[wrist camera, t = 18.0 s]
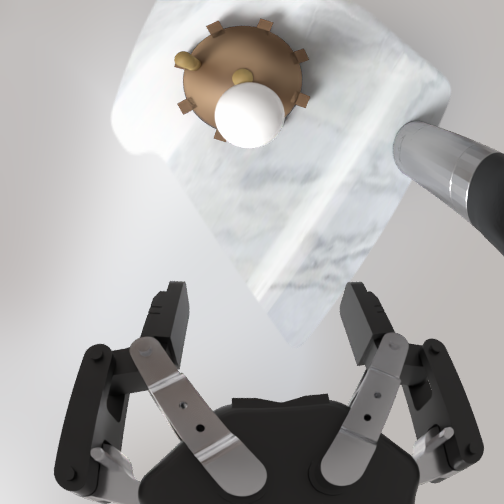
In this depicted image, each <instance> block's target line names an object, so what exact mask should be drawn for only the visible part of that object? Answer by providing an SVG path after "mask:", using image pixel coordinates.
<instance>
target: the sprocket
mask: <svg viewBox="0 0 504 504" xmlns="http://www.w3.org/2000/svg"><path fill="white" fill-rule="evenodd" d="M272 25H273V22H270V21H267V20H264V19H260V21H259V23H258V25H257V27H251V26H235V27H229V28H225V29H223V27H222V26H221V24H220V22H219V21H217V22H214V23H212V24H210V25H208V26H206V27H207V29H208V30H209V32H210V34H211V35H209V36H208V37H207V38H205V39H204V40H203V41H202V42H200V43H199V44H198V45H197V47H196V48H195V49H194V50H193V52H192V53H191V54H189V53H188V52H185V51H182V52H179V53H178V54H177V55H176V56H175V66H174V67H176V68H180V69H185V70H184V90H185V94H186V97H187V99H185V100H183V101H182V102H180V103H178V106H179V108H180V110H181V111H182V113H183V115H184V114H186V113H188V112H190V111H191V110H194V111H195V112H196V114H197V115H198V116H199V117H200V118H201V119H203V120H204V121H205V122H207V123H208V124H210V125H211V126H213V127H215V128H217V126H216V123H215V108H216V105H217V102H218V100H219V99H220V97H221V96H222V94H223V93H224V92H225V91H227V90H228V89H229V88H231V87H233V86H235V85H237V84H240V83H246V82H254V83H259V84H262V85H265V86H267V87H269V88H270V89H272V90H273V91H274V92H275V93H276V94H277V95H278V96H279V98H280V100H281V101H282V104H283V107H284V112H285V116H286V115H287V114H288V113H289V112H290V111H291V110H292V108H293V107H294V105H295V104H296V105H298V106H301V107H304V108H306V106H307V103H308V101H309V98H310V96H307V95H305V94H303V93H300V91H301V85H302V74H301V68H300V64H299V63H302V62H305V61H307V60H309V58H308V56H307V54H306V52H305V50H304V49H301V50H298V51H294V52H293V50H292V49H291V48H290V46H289V45H288V44H287V43H286V42H285V41H284V40H282V39H281V38H280V37H278V36H277V35H275V34H273V33H272V32H270V29H271V27H272ZM214 139H217V140H221V141H224V142H226V141H227V140H226V139H225V138H224V137H223V136H222V135H221V134H220V132H219V131H218V129H217V130H216V133H215V136H214Z"/></svg>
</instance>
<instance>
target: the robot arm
mask: <svg viewBox="0 0 504 504" xmlns="http://www.w3.org/2000/svg"><path fill="white" fill-rule="evenodd" d="M393 154H394V159H395V162H396V165H397V166H398V168H399V169H400V171H401V172H402V173H404V174H405V175H407V176H408V177H409V178H411V179H412V180H414V181H415V182H417V183H418V184H419V185H421V186H422V187H424V188H425V189H427V190H428V191H429V192H431V193H432V194H433V195H435V196H436V197H437V198H439V199H440V200H441V201H443V202H444V203H445V204H447V205H448V206H449V207H450V208H452V209H453V210H454V211H456V212H457V213H458V214H460V215H461V216H462V217H463V218H464V219H466V220H467V221H468V222H469V223H470V224H471V225H473V226H474V227H475V228H476V229H477V230H479V231H480V232H481V233H482V234H483V235H484V237H485V238H486V239H487V240H488V241H489V242H490V243H491V244H493V245H494V247H496V248H497V249H498V250H499V252H500V253H501V254H502V255H503V256H504V154H503V153H501V152H499V151H497V150H495V149H492V148H490V147H488V146H486V145H483V144H481V143H478V142H476V141H474V140H471V139H469V138H466V137H463V136H461V135H459V134H456V133H453V132H451V131H448V130H445V129H442V128H439V127H437V126H434V125H430V124H427V123H424V122H420V121H413V122H410V123H408V124H406V125H404V126H403V127H402V128H401V129H400V131H399V132H398V134H397V136H396V138H395V141H394V146H393ZM148 313H149V314H148V315H147V318H146V321H145V324H144V327H143V330H142V333H141V337H140V338H138V339H137V340H135V341H134V342H133V343H132V344H131V346H130V347H129V348H126V349H120V350H114V351H111V349H110V348H109V347H108V346H106V345H104V344H97V345H94V346H91V347H90V348H89V349H88V350H87V351H86V352H85V354H84V357H83V360H82V363H81V366H80V369H79V372H78V375H77V378H76V381H75V384H74V388H73V391H72V395H71V398H70V401H69V405H68V409H67V412H66V416H65V420H64V424H63V429H62V433H61V437H60V441H59V447H58V451H57V456H56V461H55V467H54V476H55V479H56V481H57V482H58V484H59V485H60V486H61V487H63V488H64V489H66V490H68V491H70V492H72V493H74V494H76V495H78V496H80V497H83V498H86V499H88V500H91V501H96V502H99V503H104V504H107V503H111V502H113V503H117V504H415V496H416V492H417V489H418V486H419V485H422V484H425V483H427V482H431V483H438V482H441V481H443V480H445V479H447V478H449V477H451V476H453V475H455V474H457V473H458V472H460V471H462V470H464V469H466V468H467V467H469V466H471V465H473V464H474V463H476V462H477V461H479V460H480V458H481V457H482V455H483V451H484V445H483V442H482V438H481V435H480V432H479V429H478V426H477V423H476V420H475V417H474V414H473V412H472V409H471V406H470V403H469V401H468V398H467V396H466V393H465V391H464V388H463V386H462V383H461V381H460V378H459V376H458V374H457V372H456V369H455V367H454V365H453V363H452V360H451V358H450V356H449V354H448V352H447V350H446V348H445V346H444V345H443V344H442V343H441V342H440V341H438V340H436V339H428V340H426V341H425V342H424V344H423V345H414V344H409V343H408V342H407V340H406V339H405V337H403V336H402V335H400V334H398V333H395V332H394V329H393V327H392V325H391V323H390V321H389V319H388V317H387V315H386V313H385V312H384V309H383V307H382V306H381V303H380V301H379V299H378V298H377V297H376V296H375V295H374V294H373V293H372V292H367V290H366V288H365V286H364V284H363V283H362V282H348V283H347V284H346V287H345V291H344V295H343V298H342V301H341V305H340V315H341V318H342V321H343V324H344V327H345V330H346V333H347V336H348V339H349V342H350V345H351V348H352V351H353V354H354V357H355V360H356V363H357V366H360V365H365V366H366V370H365V372H364V374H363V376H362V379H361V380H360V382H359V384H358V386H357V388H356V390H355V392H354V394H353V396H352V398H351V400H350V401H349V403H348V405H347V406H346V405H344V404H342V403H339V402H336V401H332V400H329V397H328V394H320V395H309V396H303V397H300V398H297V399H293V400H290V401H286V402H282V403H280V402H273V401H268V400H263V399H258V398H232V404H231V405H227V406H223V407H221V408H219V409H216V410H215V411H212V410H211V408H210V407H209V406H208V405H207V403H206V402H205V401H204V399H203V398H202V397H201V396H200V394H199V393H198V392H197V390H196V389H195V388H194V387H193V385H192V384H191V383H190V381H189V380H188V379H187V377H186V376H185V375H184V374H183V373H180V372H179V371H178V369H180V363H181V358H182V352H183V346H184V340H185V335H186V329H187V324H188V319H189V301H188V295H187V288H186V283H185V282H178V281H176V282H175V281H170V282H169V285H168V289H167V292H165V291H160V292H159V293H158V294H157V295H156V296H155V297H154V298H153V301H152V304H151V308H150V309H149V312H148ZM429 383H430V384H429ZM400 385H402V387H403V390H404V393H405V397H406V400H407V404H408V407H409V411H410V414H411V418H412V422H413V425H414V429H415V433H416V437H417V441H416V442H415V444H414V447H413V454H412V456H411V455H410V454H408V453H407V452H406V451H404V450H403V449H402V448H400V447H399V446H398V445H396V444H395V443H393V442H392V441H391V440H390V439H389V438H387V437H386V436H385V435H383V434H382V433H381V432H382V429H383V427H384V425H385V422H386V420H387V418H388V415H389V413H390V410H391V408H392V405H393V402H394V399H395V397H396V394H397V391H398V388H399V386H400ZM430 386H431V387H430ZM431 389H432V390H431ZM146 390H148V391H149V393H150V394H151V396H152V398H153V400H154V401H155V403H156V405H157V406H158V408H159V409H160V411H161V413H162V414H163V416H164V417H165V419H166V421H167V422H168V424H169V425H170V427H171V428H172V430H173V431H174V433H175V434H176V436H177V437H178V439H179V440H180V441H181V442H180V443H179V444H178V445H177V446H176V447H175V448H174V449H173V450H172V451H171V452H170V453H169V454H168V455H166V456H165V457H164V458H163V459H162V460H161V461H160V462H159V463H158V464H157V465H156V466H154V467H153V468H152V469H151V470H150V471H149V472H148V473H147V474H146V475H145V476H144V477H143V479H142V480H141V482H140V481H137V480H136V478H135V477H134V475H133V470H132V464H131V462H130V460H129V459H128V458H127V457H126V456H125V455H124V454H122V453H121V447H122V439H123V432H124V426H125V418H126V413H127V407H128V401H129V395H130V393H134V392H140V391H146Z"/></svg>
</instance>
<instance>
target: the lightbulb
mask: <svg viewBox="0 0 504 504" xmlns="http://www.w3.org/2000/svg"><path fill="white" fill-rule="evenodd" d="M284 118H285V112H284V107H283V104H282V101H281V100H280V98H279V96H278V95H277V94H276V93H275V92H274V91H273V90H272V89H270V88H269V87H267V86H265V85H262V84H259V83H254V82H246V83H240V84H237V85H235V86H233V87H231V88H229V89H228V90H227V91H225V92H224V93H223V94H222V96H221V97H220V99H219V100H218V102H217V105H216V108H215V123H216V126H217V129H218V131H219V132H220V134H221V135H222V136H223V137H224V138H225V139H226V140H227V141H228V142H230V143H231V144H233V145H235V146H238V147H242V148H257V147H261V146H264V145H266V144H268V143H270V142H271V141H272V140H273V139H275V138H276V136H277V135H278V134H279V132H280V131H281V129H282V127H283V124H284Z"/></svg>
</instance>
